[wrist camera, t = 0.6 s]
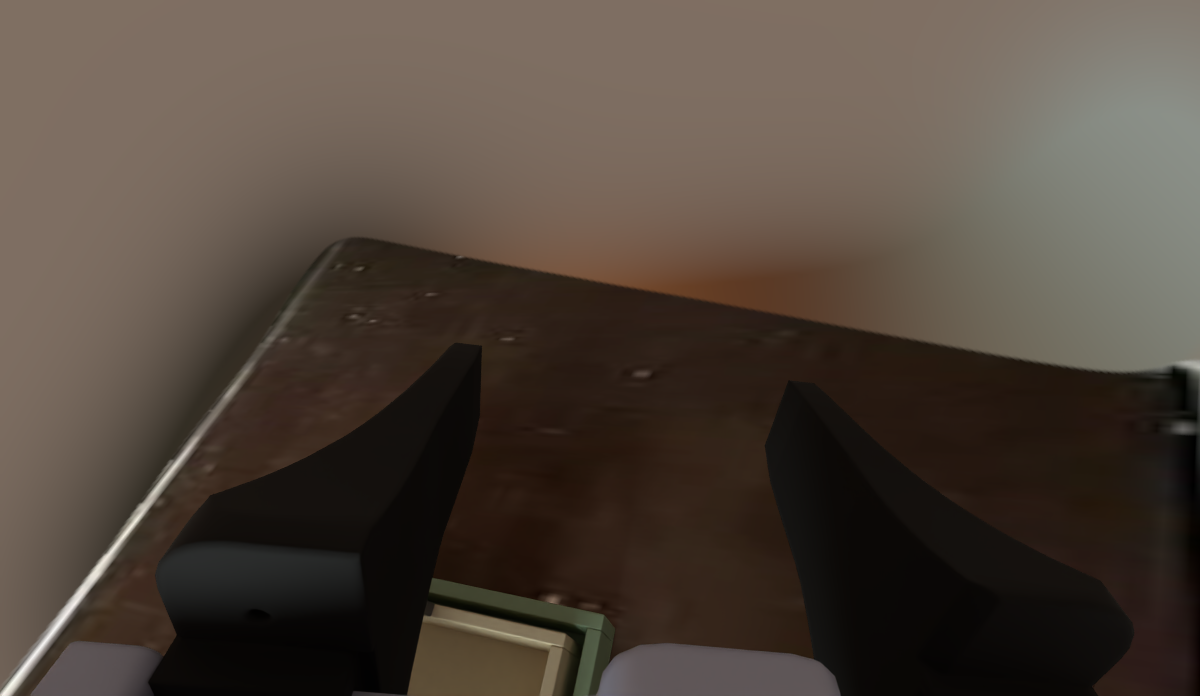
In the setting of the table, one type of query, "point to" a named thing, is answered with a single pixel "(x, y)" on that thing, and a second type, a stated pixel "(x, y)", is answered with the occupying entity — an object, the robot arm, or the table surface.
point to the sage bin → (538, 623)
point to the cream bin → (490, 657)
